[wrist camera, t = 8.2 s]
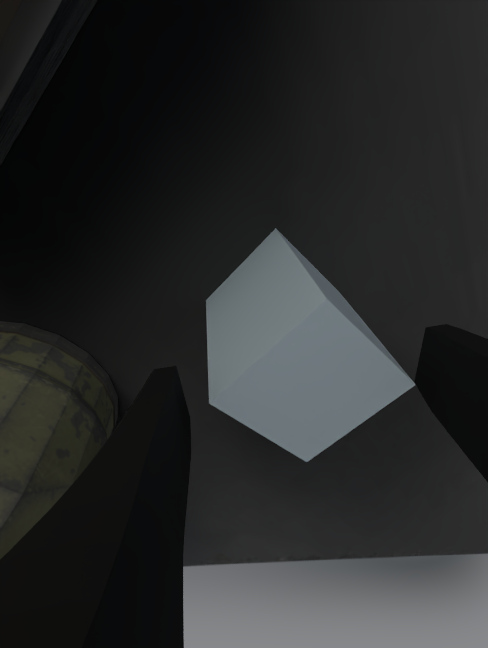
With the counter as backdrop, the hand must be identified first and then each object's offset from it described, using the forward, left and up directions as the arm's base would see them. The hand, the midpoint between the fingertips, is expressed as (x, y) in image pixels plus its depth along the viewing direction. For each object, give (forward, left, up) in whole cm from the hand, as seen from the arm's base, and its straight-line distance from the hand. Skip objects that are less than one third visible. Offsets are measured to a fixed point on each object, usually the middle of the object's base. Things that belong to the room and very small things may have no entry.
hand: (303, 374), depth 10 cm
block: (0, 0, -5) cm, 5 cm away
